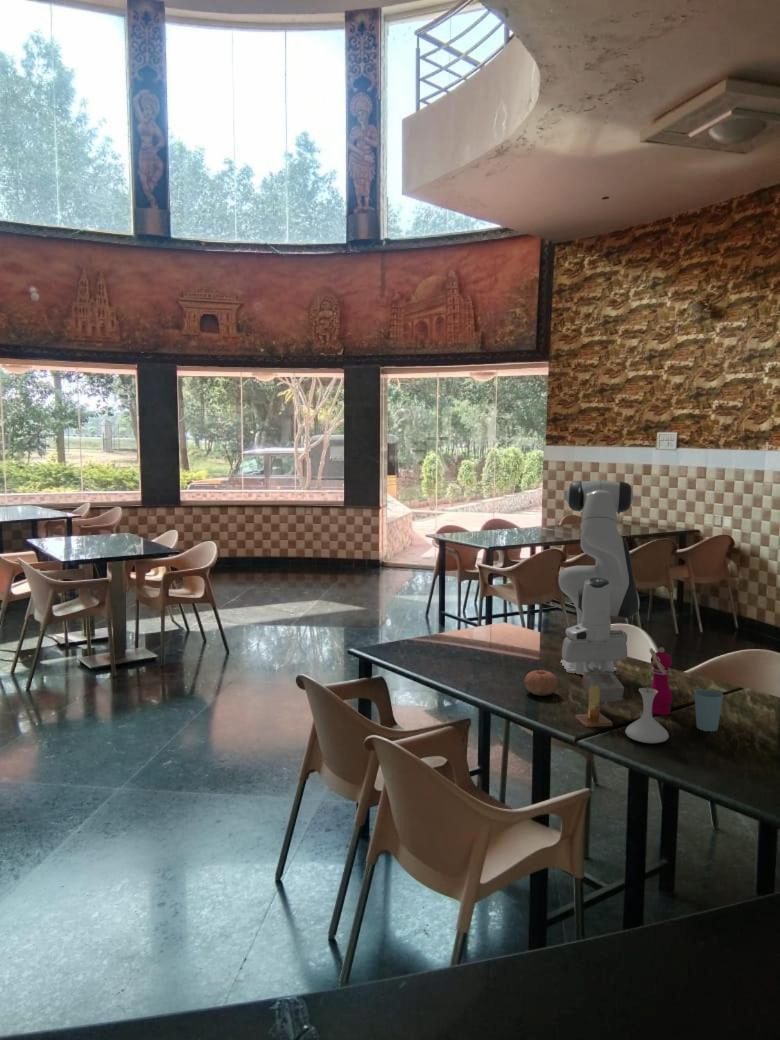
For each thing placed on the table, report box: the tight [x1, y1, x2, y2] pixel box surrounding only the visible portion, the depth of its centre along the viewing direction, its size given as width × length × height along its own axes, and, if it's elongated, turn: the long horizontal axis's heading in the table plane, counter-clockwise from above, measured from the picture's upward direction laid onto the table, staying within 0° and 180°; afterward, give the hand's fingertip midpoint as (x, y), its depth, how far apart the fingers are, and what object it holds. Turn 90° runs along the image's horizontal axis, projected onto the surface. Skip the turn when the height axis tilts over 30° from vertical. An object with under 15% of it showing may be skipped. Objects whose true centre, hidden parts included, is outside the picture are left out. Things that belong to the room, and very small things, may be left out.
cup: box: [693, 688, 724, 733], centre depth 217 cm, size 8×8×10 cm
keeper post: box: [574, 685, 614, 728], centre depth 222 cm, size 8×8×11 cm
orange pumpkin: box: [523, 669, 559, 697], centre depth 249 cm, size 11×11×8 cm
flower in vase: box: [625, 647, 670, 744], centre depth 208 cm, size 13×11×25 cm
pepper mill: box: [649, 646, 673, 716], centre depth 232 cm, size 7×7×20 cm
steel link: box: [581, 662, 625, 703], centre depth 233 cm, size 17×9×4 cm, turn 9°
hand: (594, 674), depth 235 cm, fingers closed on steel link
